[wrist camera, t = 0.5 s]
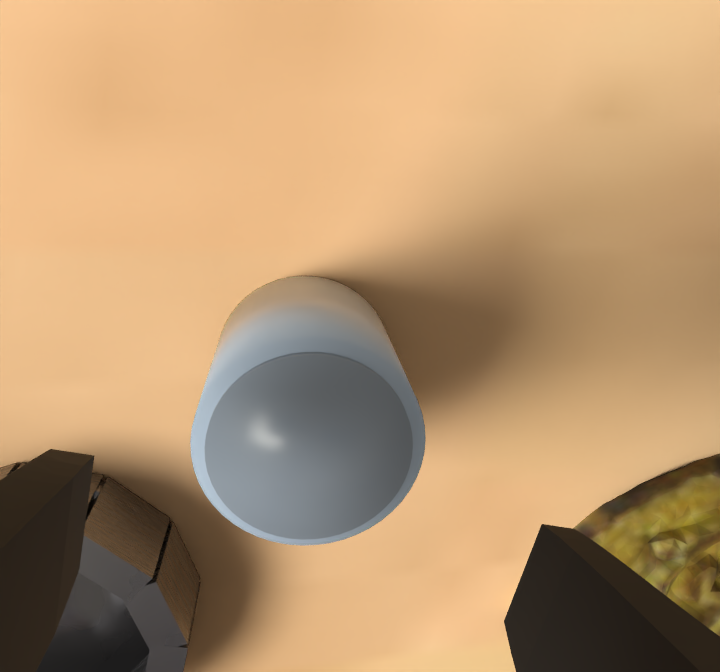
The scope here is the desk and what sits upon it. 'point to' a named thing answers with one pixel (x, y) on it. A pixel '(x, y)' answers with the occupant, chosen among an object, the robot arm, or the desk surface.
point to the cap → (306, 416)
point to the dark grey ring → (125, 590)
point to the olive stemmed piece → (669, 535)
